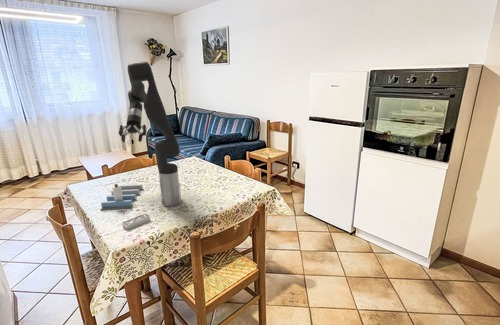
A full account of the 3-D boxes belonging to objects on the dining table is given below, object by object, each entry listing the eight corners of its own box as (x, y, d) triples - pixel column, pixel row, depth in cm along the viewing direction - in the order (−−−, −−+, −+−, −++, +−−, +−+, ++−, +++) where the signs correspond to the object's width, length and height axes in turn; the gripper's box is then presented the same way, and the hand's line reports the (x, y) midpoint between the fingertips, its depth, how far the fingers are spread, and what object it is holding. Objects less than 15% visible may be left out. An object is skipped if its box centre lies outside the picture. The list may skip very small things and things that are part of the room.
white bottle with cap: (124, 200, 140) (121, 182, 136) (122, 204, 136) (118, 185, 133) (116, 201, 139) (112, 183, 136) (114, 204, 135) (110, 186, 132)
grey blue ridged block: (143, 188, 157) (142, 183, 156) (130, 209, 133) (129, 202, 132) (118, 190, 156) (117, 184, 155) (100, 210, 131) (99, 204, 130)
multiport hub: (122, 227, 118) (121, 222, 117) (145, 217, 125) (145, 213, 125) (127, 230, 115) (126, 225, 114) (150, 220, 123) (150, 216, 122)
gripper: (119, 114, 152) (115, 138, 144) (145, 113, 153) (143, 137, 146) (123, 122, 158) (120, 145, 151) (148, 121, 160) (146, 144, 152)
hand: (131, 141), depth 148 cm, fingers open, 8 cm apart
